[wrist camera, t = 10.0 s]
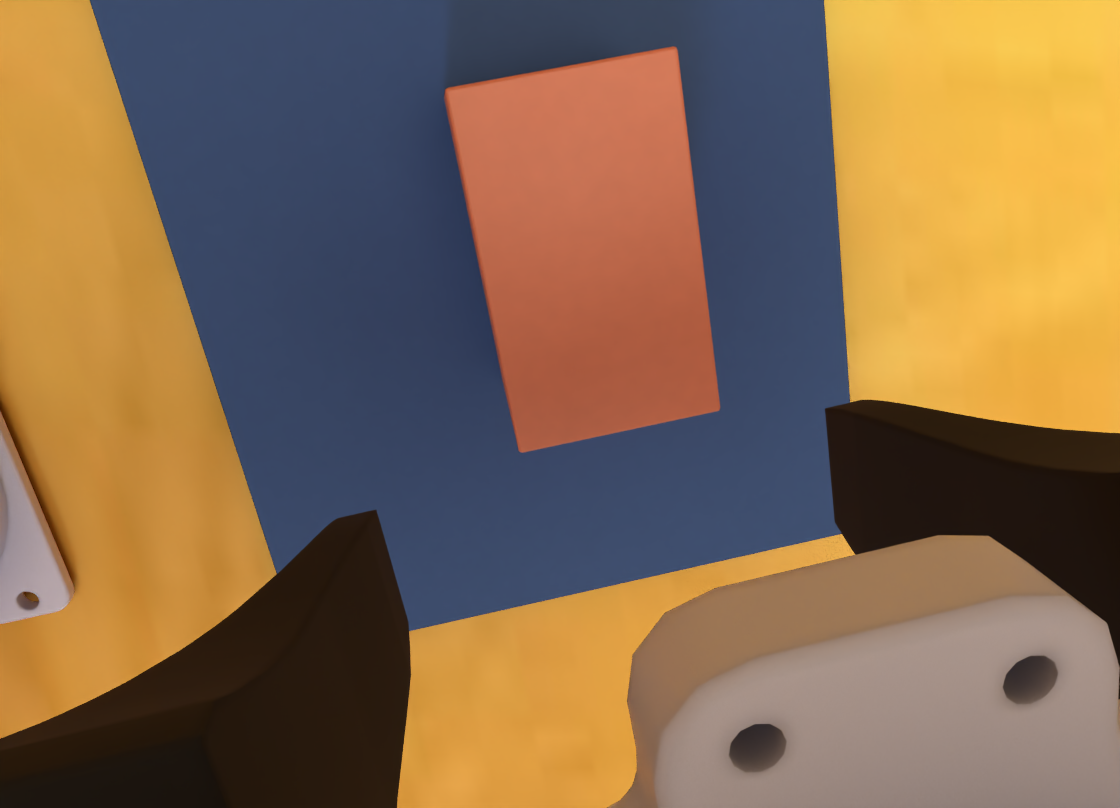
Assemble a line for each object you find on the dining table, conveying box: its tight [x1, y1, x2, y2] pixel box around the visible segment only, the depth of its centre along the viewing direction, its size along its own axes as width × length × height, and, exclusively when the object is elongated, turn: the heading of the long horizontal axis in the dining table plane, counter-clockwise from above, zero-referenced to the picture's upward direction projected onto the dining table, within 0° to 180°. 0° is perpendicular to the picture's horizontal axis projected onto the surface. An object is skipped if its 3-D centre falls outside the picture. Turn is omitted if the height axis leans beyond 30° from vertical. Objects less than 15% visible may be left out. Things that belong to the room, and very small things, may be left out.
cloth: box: [90, 0, 850, 631], centre depth 21 cm, size 16×20×1 cm
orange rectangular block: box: [444, 46, 720, 453], centre depth 19 cm, size 4×7×5 cm, turn 10°
